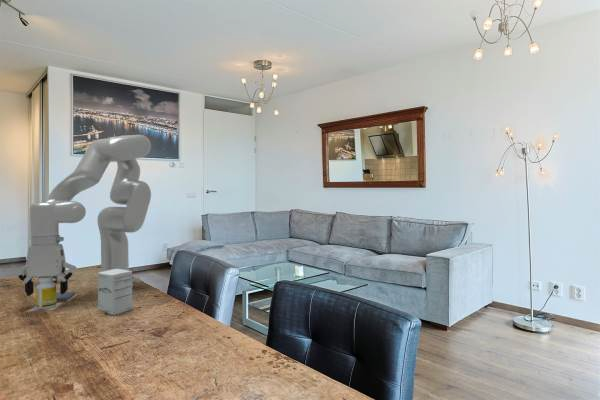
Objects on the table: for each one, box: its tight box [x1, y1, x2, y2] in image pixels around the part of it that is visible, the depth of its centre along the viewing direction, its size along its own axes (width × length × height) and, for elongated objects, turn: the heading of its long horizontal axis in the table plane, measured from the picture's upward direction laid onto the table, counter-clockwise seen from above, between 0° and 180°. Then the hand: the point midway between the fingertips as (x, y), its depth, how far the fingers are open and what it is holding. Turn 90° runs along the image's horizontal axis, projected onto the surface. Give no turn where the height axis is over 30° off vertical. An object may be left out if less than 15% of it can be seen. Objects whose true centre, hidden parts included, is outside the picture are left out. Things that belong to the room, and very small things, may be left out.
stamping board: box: [23, 294, 77, 314], centre depth 128 cm, size 9×18×1 cm, turn 12°
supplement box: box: [97, 269, 133, 316], centre depth 123 cm, size 7×7×13 cm
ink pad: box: [56, 291, 76, 303], centre depth 133 cm, size 8×8×1 cm
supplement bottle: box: [35, 277, 57, 309], centre depth 124 cm, size 5×5×10 cm
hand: (46, 293), depth 124 cm, fingers open, 9 cm apart
